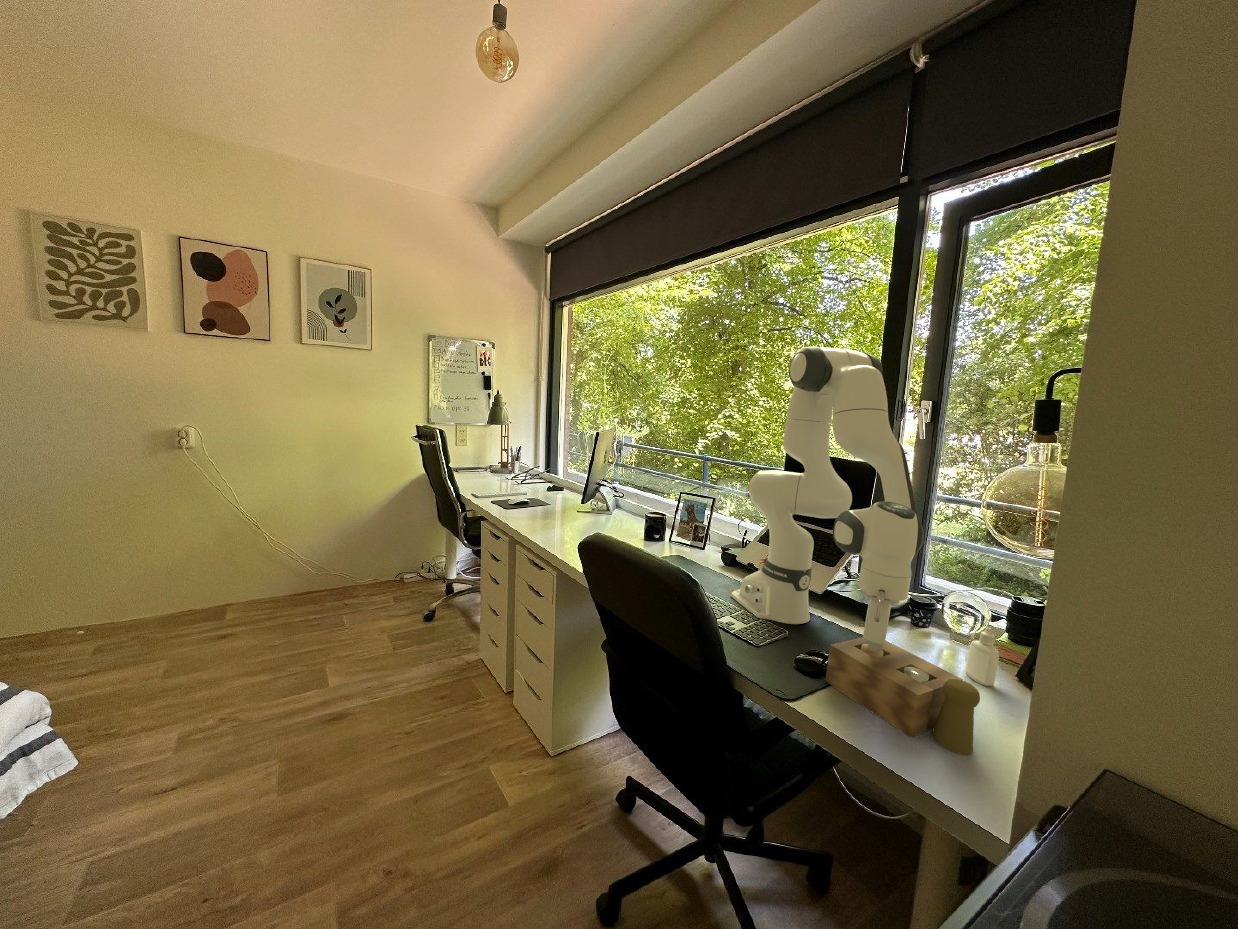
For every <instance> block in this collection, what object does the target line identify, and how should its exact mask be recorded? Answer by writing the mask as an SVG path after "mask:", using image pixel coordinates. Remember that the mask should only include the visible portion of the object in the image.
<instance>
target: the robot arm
mask: <svg viewBox="0 0 1238 929" xmlns="http://www.w3.org/2000/svg"><path fill="white" fill-rule="evenodd" d="M788 375H789V376H788V377H789V380H790V383H791V384H792V385H793V386H794V387H793V389H792V390H793V391H792V393H791V397H790V399H789V403H788V408H787V413H786V418H785V419H786V420H785V424H784V433H783V440H782V441H783V443H782V447H783V450H784V452H785V453H786V454H788V455H789V457H791V458H793V459H794V460H796V461H797V462H799V463H800V464H802V465H803V468H804V472H801V473H800V472H794V471H786V470H785V471H784V470H779V469H778V470H777V469H775V470H773V469H771V470H770V469H769V470H758V471H757V472H756V473H755V474H754V475H753V476H752V478H751V479H750V480H749V483H748V495H749V496H748V497H749V498H750V500H751V502H752V503H753V505H754V506H755V507H757V509H758V510H760V512H761V514H763V517H764V519H765V520H766V523H767V526H768V530H769V531H768V532H769V547H768V556H767V557H766V558H763V559H762V558H761V559H760V562H759V564H763V565H762V567H761V569H759V570H758V571H755V572H753V573H751V574H749V575H747V576H745V577H744V578H743V579H742V581H741V584H740V588H738V589H735V590H733V591H731V594H730V597H731V598H733V599H734V600H735V601H736V602H737V603H739V604H740V605H741V607H744V608H745V610H747V611H748V612H750V613H751V614H752V613H753V614H754V615H753V614H752V615H753V616H755V617H756V618H759V619H761V620H762V619H763V620H771V621H775V622H778V623H781V624H782V623H783V624H787V625H789V624H790V625H800V624H805V623H809V621H810V620H811V615H810V606H809V586H810V584H811V580H812V572H813V571H812V570H813V567H812V559H813V551H814V546H815V542H814V538H813V536H812V534H811V533H810V532H809V531H807V530H806V529H805V528H804V527H801V526H800V525H799V524H797V523H796V522H795V520H794V518H793V516H794V515H799V516H800V515H801V516H805V517H813V518H818V519H835V520H834V523H833V527H832V538H833V541H834V543H835V544H836V546H837V547H838V548H839V549H840V550H841V551H842V552H844V553H848V554H850V555H858V556H860V557H861V559H862V561H861V564H860V571H859V578H858V582H857V583H858V584H857V587H858V589H859V590H860V591H862V592H863V597H864V598H865V599H866V600H868V606H867V610H866V614H865V616H866V617H865V620H864V621H865V623H864V629H863V634H862V637H863V640H864V642H866V643H868V650H870V651H873V652H877V651H878V647H879V646H880V647H883V646H884V644H885V640H886V638H887V632H888V625H889V621H890V616H891V615H890V614H891V610H892V609H891V608H892V607H896V606H899V605H900V602H901V601H905V600H907V599H908V597H909V592H910V591H909V590H910V585H911V579H912V568H911V567H912V566H911V565H912V562H913V559H914V557H915V555H916V554H917V553H918V552H919V550H921V548H922V546H923V544H924V540H925V535H924V534H925V532H924V529H923V528H924V527H923V525H922V522H921V520H920V519H921V518H920V517H919V515H918V512H917V507H916V506H917V505H916V501H915V497H914V492H913V485H912V480H911V476H910V470H909V465H908V460H907V456H906V453H905V449H904V447H903V445H902V444H901V442H899V441H898V440H897V439H896V437H895V435H894V433H893V431H892V427H891V425H890V420H889V408H888V406H889V405H888V404H889V403H888V396H887V391H886V390H887V389H886V385H885V382H884V376H883V364H882V361H881V360H880V359H879V358H878V357H876V356H875V355H873V354H870V353H868V352H865V351H861V352H860V351H857V350H852V349H848V348H842V347H839V348H837V347H834V348H833V347H819V346H817V345H816V346H814V345H813V346H806V347H801V348H799V350H797V352H796V353H794V355H793V357H792V358H791V361H790V363H789V369H788ZM831 426H832V431H833V436H834V440H835V441H836V443H837V444H838V445H839V446H840V448H841V449H843V450H844V451H846V452H847V453H848V454H850V455H851V456H854V457H856V458H859V459H860V460H862V461H864V462H865V463H867V464H869V465H871V466H872V467H873V468H874V469H875V471H877V473H878V474H879V477H880V480H881V486H882V491H883V497H884V500H883V501H877V502H875V503H873V504H872V506H869V507H866V508H861V509H859V508H858V509H850V508H851V506H852V502H853V495H852V491H851V488H850V487H849V485H848V484H847V482H846V481H844V480H843V479H842V478H841V477H840V476H839V475H838V473H837V472H836V470H835V468H834V467H833V464H832V462H831V459H830V453H829V447H830V433H831Z"/></svg>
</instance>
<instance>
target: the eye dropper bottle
mask: <svg viewBox="0 0 1238 929" xmlns="http://www.w3.org/2000/svg"><path fill="white" fill-rule="evenodd" d="M995 637H996V635H995V634H993V633H992V628H991V627H988V626H987V627H986V629H985V630H984V631H980V637H979V640H977V639H975V640H973V641H971V643H970V646H969V650H968V657H967V662H966V667H965V673H966V675H967V676H968V677H969V678H970V679H972V680H973V681H975V682H976V683H978V684H980V685H982V686H986V687H994V685H995V681H996V675H997V670H998V667H999V666H998V665H999V660H1000V653H999V651H998V649H996V647H995V646H994V643H995V642H994V641H995Z"/></svg>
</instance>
